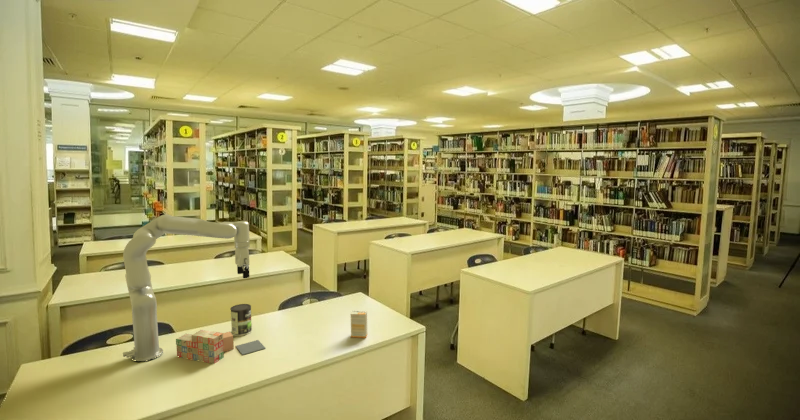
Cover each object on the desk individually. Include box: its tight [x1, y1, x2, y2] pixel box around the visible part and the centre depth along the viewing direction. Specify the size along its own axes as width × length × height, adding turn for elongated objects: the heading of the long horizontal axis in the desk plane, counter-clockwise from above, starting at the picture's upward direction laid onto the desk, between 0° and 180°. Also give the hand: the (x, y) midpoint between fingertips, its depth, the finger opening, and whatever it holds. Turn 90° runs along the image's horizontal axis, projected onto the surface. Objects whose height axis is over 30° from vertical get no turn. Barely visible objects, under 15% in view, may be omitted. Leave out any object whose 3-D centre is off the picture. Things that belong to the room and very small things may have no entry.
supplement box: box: [350, 310, 368, 339], centre depth 203 cm, size 8×5×13 cm, turn 84°
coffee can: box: [230, 303, 253, 337], centre depth 206 cm, size 10×10×14 cm
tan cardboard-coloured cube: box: [222, 331, 235, 353], centre depth 188 cm, size 6×6×7 cm
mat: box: [235, 339, 266, 356], centre depth 189 cm, size 11×11×1 cm
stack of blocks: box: [175, 329, 225, 365], centre depth 179 cm, size 21×6×12 cm, turn 75°
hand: (243, 275), depth 205 cm, fingers open, 9 cm apart
